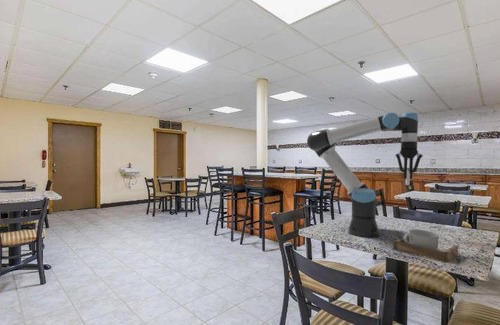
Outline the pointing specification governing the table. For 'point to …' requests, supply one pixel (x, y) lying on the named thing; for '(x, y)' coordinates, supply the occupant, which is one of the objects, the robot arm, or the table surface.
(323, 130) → the robot arm
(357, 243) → the table surface
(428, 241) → the teacup
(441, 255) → the wooden tray
